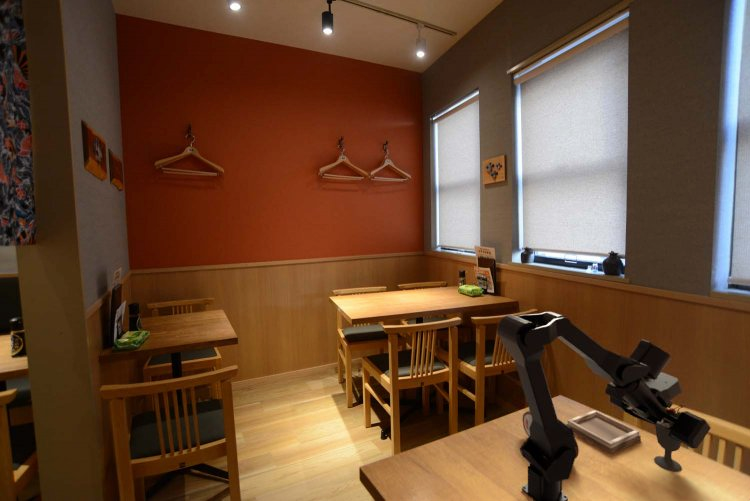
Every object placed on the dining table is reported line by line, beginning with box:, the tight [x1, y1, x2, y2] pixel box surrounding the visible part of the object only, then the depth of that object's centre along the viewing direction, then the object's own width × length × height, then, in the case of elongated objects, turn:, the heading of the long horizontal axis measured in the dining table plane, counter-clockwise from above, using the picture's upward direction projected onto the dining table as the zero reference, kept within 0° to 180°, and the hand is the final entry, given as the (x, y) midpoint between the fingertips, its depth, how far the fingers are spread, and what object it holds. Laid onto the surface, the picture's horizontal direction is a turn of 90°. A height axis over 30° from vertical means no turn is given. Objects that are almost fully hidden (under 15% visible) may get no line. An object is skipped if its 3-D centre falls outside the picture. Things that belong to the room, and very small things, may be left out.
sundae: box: [653, 404, 684, 472], centre depth 80 cm, size 7×7×15 cm
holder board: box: [565, 409, 642, 455], centre depth 93 cm, size 12×12×2 cm
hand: (673, 431), depth 81 cm, fingers closed on sundae, 6 cm apart
